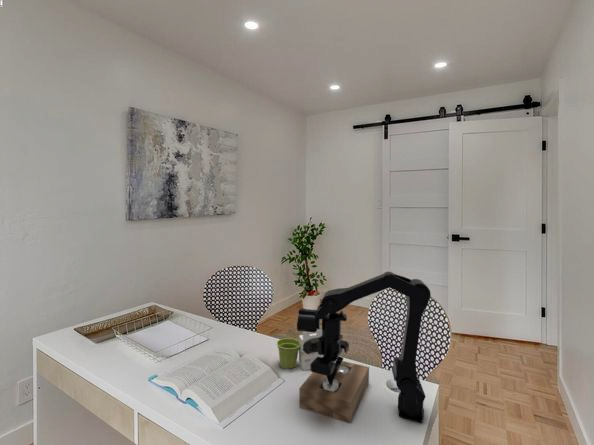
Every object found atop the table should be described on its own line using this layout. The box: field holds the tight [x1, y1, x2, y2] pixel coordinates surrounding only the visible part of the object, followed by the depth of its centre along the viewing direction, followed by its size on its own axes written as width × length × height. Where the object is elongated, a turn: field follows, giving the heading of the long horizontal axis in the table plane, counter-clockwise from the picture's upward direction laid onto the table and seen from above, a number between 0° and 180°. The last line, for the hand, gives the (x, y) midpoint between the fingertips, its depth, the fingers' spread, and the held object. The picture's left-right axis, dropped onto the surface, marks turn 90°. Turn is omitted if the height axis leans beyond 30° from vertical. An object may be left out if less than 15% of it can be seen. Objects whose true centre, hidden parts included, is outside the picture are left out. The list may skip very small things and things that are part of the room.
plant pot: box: [276, 337, 300, 370], centre depth 121 cm, size 9×9×9 cm
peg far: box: [337, 366, 349, 375], centre depth 107 cm, size 5×5×6 cm
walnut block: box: [298, 360, 370, 424], centre depth 102 cm, size 16×22×6 cm
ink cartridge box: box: [298, 329, 323, 372], centre depth 121 cm, size 9×5×15 cm, turn 107°
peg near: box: [323, 379, 338, 392], centre depth 97 cm, size 5×5×6 cm
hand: (330, 382), depth 97 cm, fingers closed, pressing on peg near
